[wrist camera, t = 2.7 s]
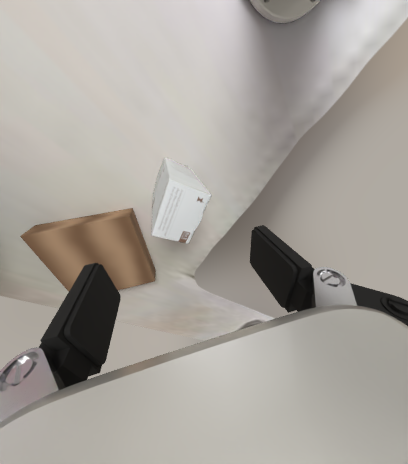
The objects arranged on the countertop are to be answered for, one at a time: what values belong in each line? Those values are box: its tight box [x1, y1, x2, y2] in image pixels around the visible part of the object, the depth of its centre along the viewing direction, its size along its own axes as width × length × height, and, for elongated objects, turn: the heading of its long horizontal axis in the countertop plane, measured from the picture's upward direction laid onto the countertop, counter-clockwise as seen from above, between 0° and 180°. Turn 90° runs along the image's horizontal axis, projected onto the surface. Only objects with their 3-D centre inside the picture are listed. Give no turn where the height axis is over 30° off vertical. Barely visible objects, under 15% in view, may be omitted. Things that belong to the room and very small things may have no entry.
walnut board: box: [20, 208, 155, 291], centre depth 27 cm, size 14×14×3 cm
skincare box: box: [151, 157, 211, 244], centre depth 20 cm, size 6×4×12 cm
